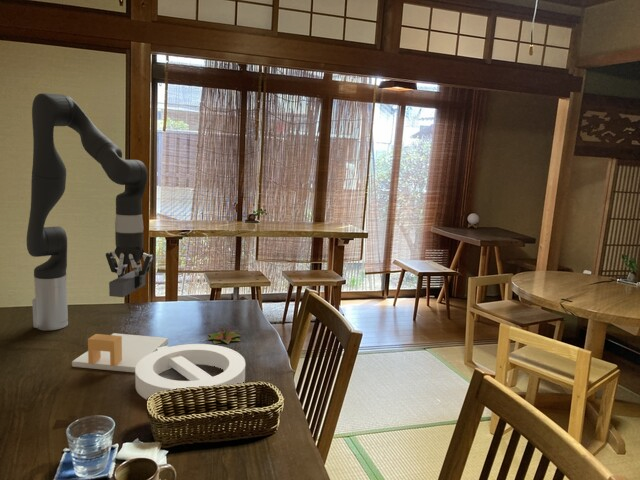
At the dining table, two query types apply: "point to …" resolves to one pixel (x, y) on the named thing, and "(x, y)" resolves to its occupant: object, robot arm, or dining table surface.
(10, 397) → the dining table surface
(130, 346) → the mat
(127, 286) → the long grey rectangular bar
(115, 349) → the orange arch block
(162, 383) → the ring with crossbar
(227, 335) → the lily flower
